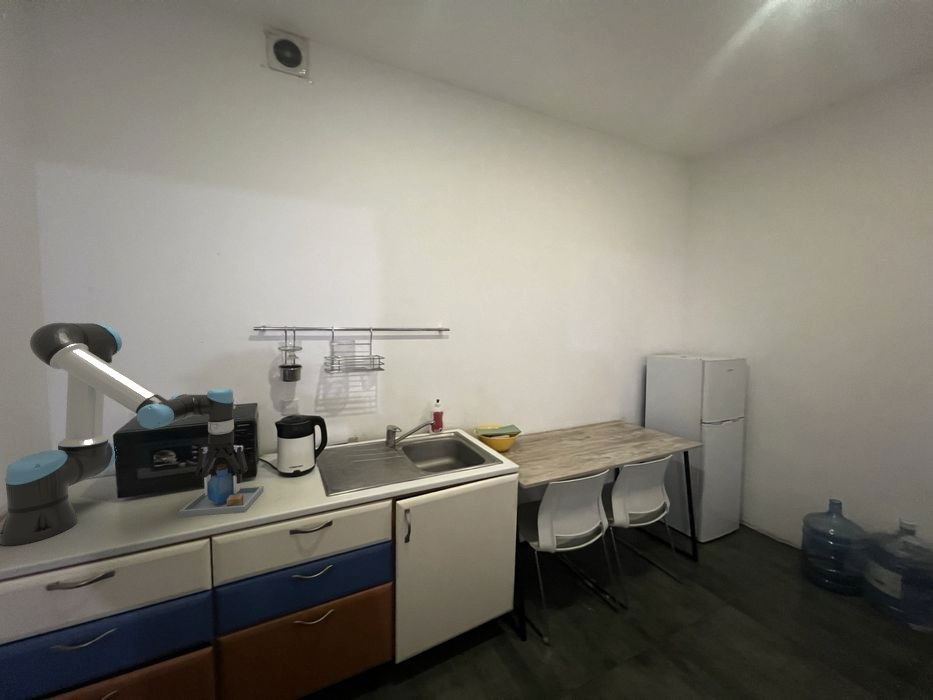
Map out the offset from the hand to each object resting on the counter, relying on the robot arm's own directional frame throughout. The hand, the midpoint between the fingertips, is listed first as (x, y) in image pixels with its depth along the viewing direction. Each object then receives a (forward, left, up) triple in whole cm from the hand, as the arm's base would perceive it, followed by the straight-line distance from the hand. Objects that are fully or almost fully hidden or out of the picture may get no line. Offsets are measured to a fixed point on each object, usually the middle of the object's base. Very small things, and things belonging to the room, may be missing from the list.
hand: (222, 492), depth 124 cm
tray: (+1, -1, -4) cm, 4 cm away
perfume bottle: (0, 0, -2) cm, 2 cm away
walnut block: (+7, -6, -3) cm, 9 cm away
